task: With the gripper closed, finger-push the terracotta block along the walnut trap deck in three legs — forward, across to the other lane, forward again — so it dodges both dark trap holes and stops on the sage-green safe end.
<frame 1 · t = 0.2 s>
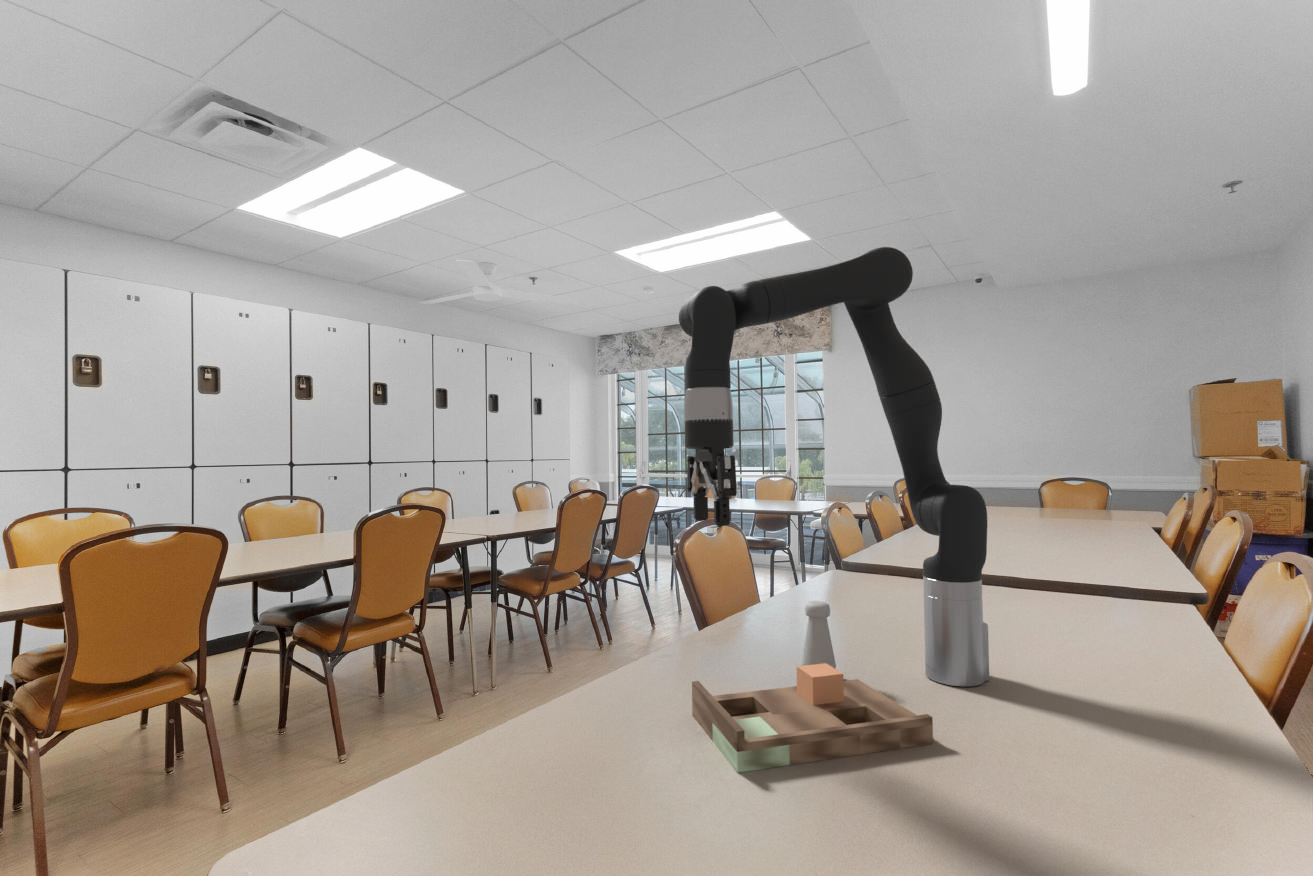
hand: (711, 522, 99), 28 cm above the table, fingers open, 8 cm apart
terracotta block: (820, 697, 96), point 2 cm above the table, touching trap deck
trap deck: (805, 728, 90), on the table
salt shaker: (818, 678, 111), on the table
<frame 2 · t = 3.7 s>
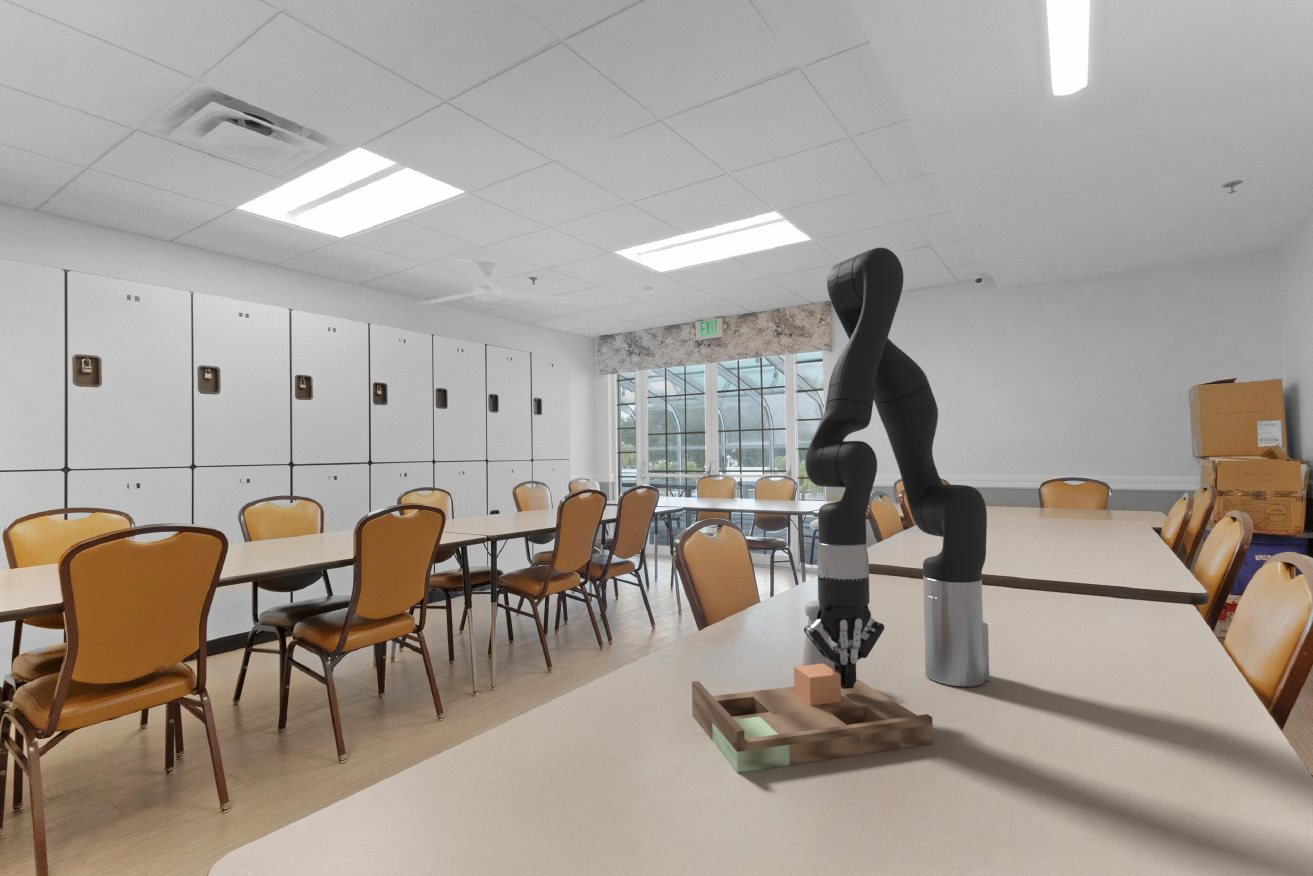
hand: (845, 686, 97), 4 cm above the table, fingers closed
terracotta block: (817, 697, 95), point 3 cm above the table, touching gripper
everything else where it was.
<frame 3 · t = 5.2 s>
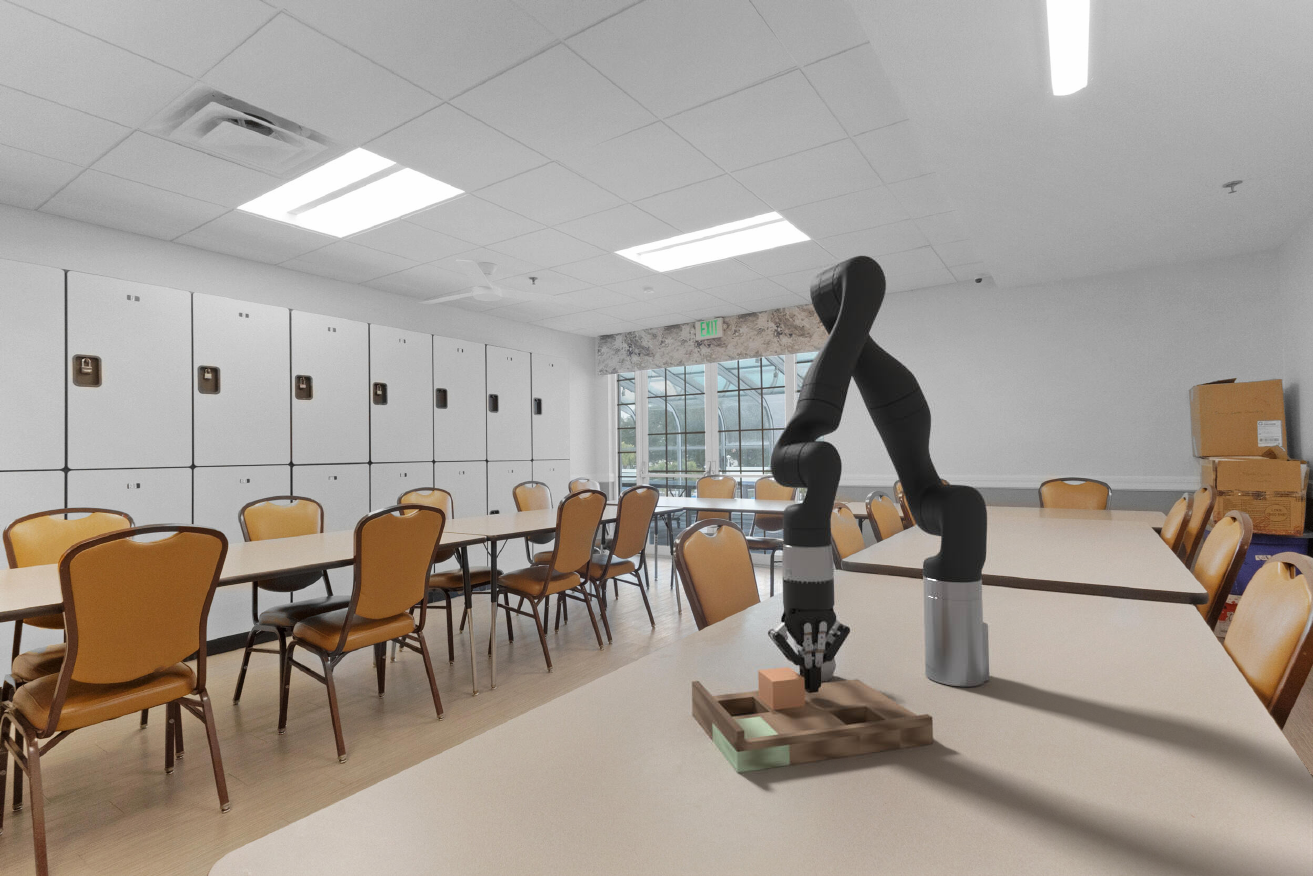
hand: (810, 690, 95), 4 cm above the table, fingers closed
terracotta block: (781, 701, 94), point 2 cm above the table, touching gripper, trap deck
everything else where it was.
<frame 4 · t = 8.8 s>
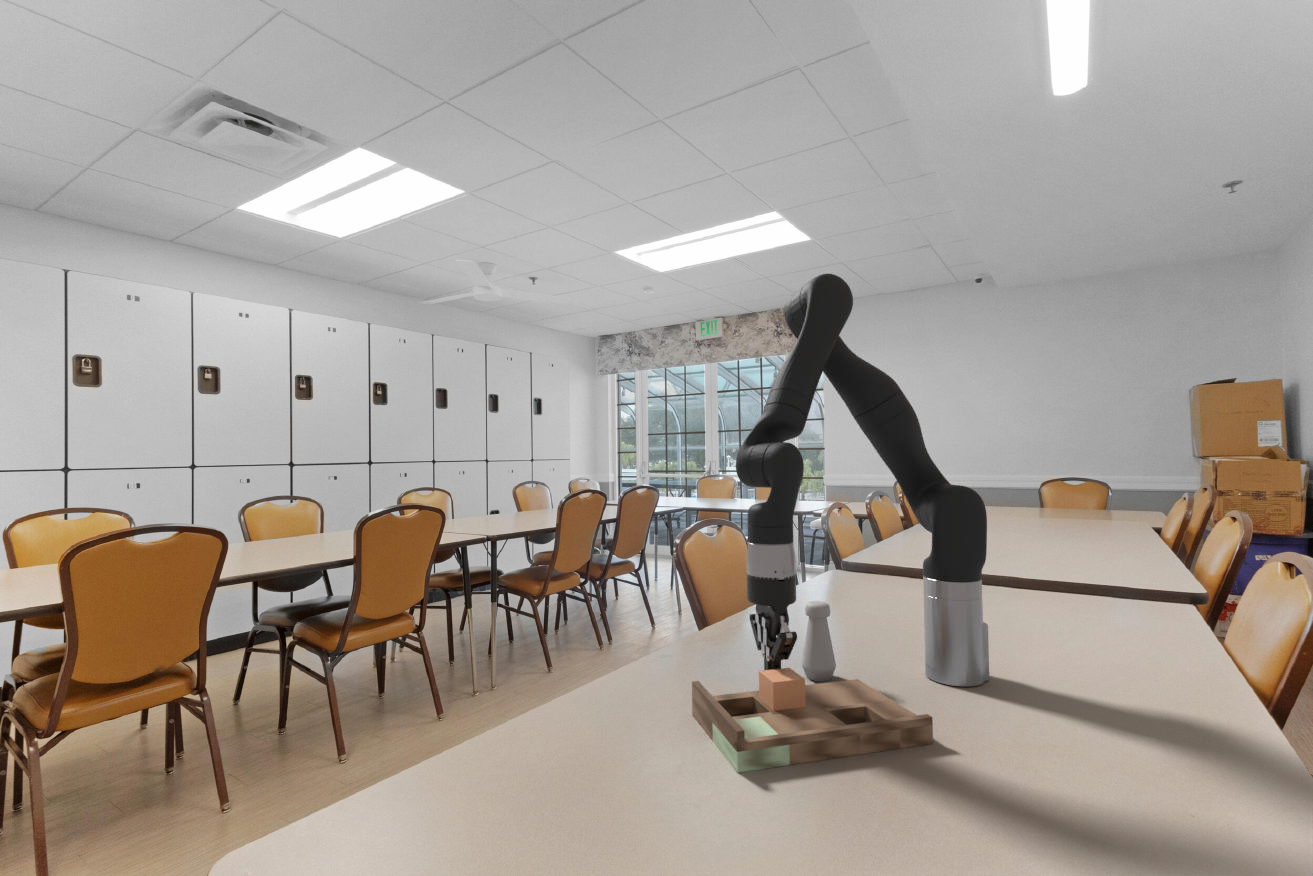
hand: (772, 683, 99), 4 cm above the table, fingers closed
nothing on the table moved.
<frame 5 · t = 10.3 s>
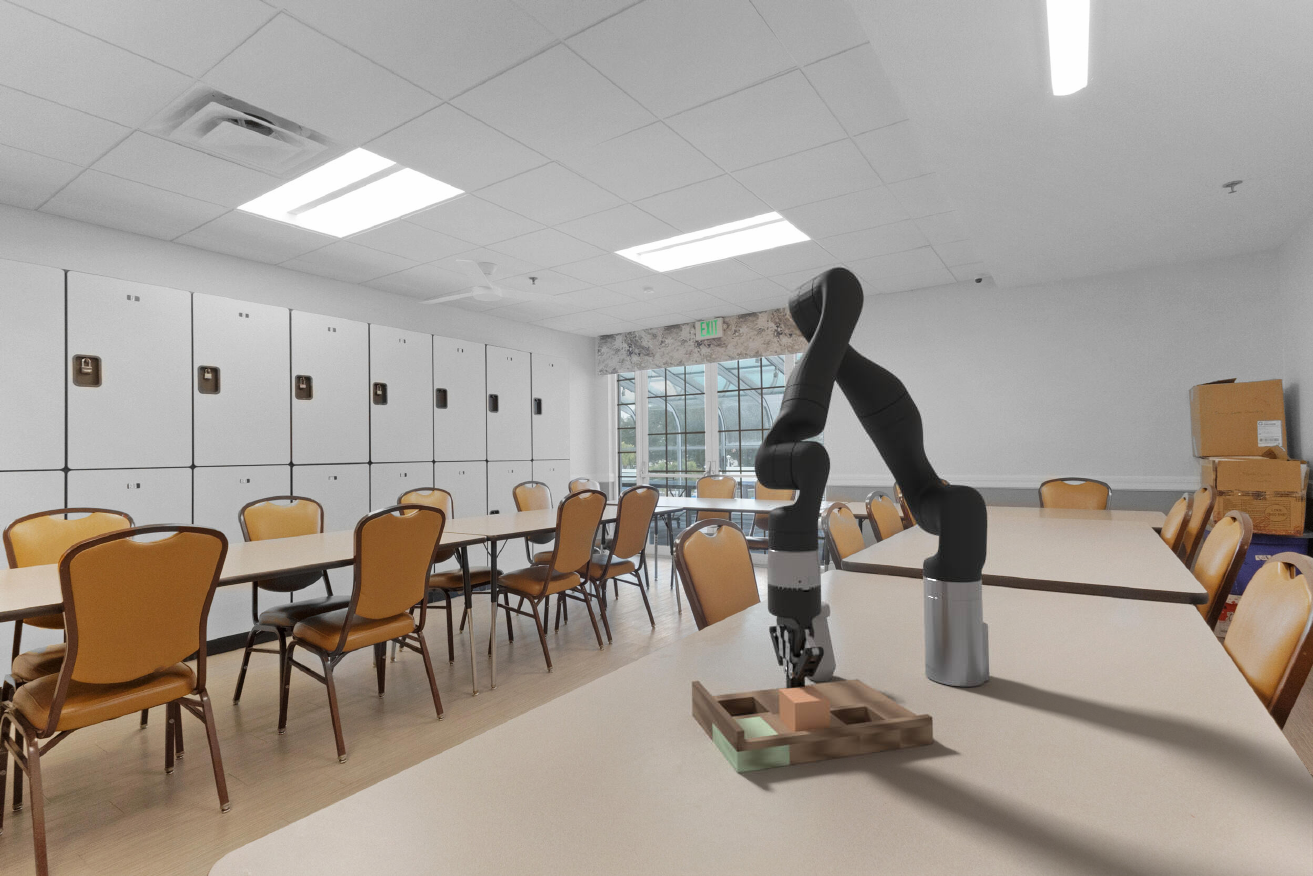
hand: (795, 702, 91), 4 cm above the table, fingers closed
terracotta block: (804, 724, 86), point 3 cm above the table, touching gripper
everything else where it was.
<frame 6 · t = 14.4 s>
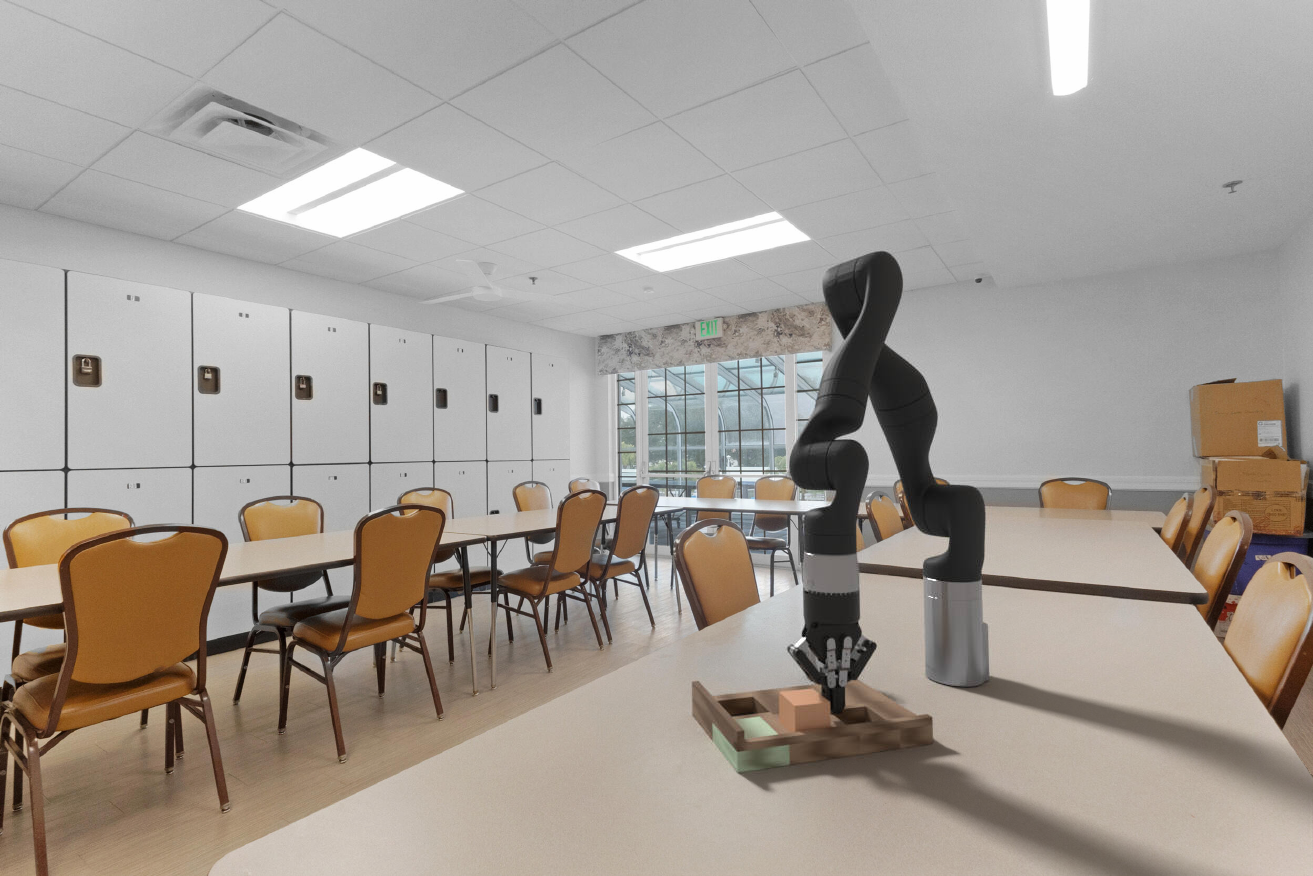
hand: (833, 712, 87), 4 cm above the table, fingers closed
terracotta block: (804, 727, 85), point 3 cm above the table, touching gripper, trap deck
everything else where it was.
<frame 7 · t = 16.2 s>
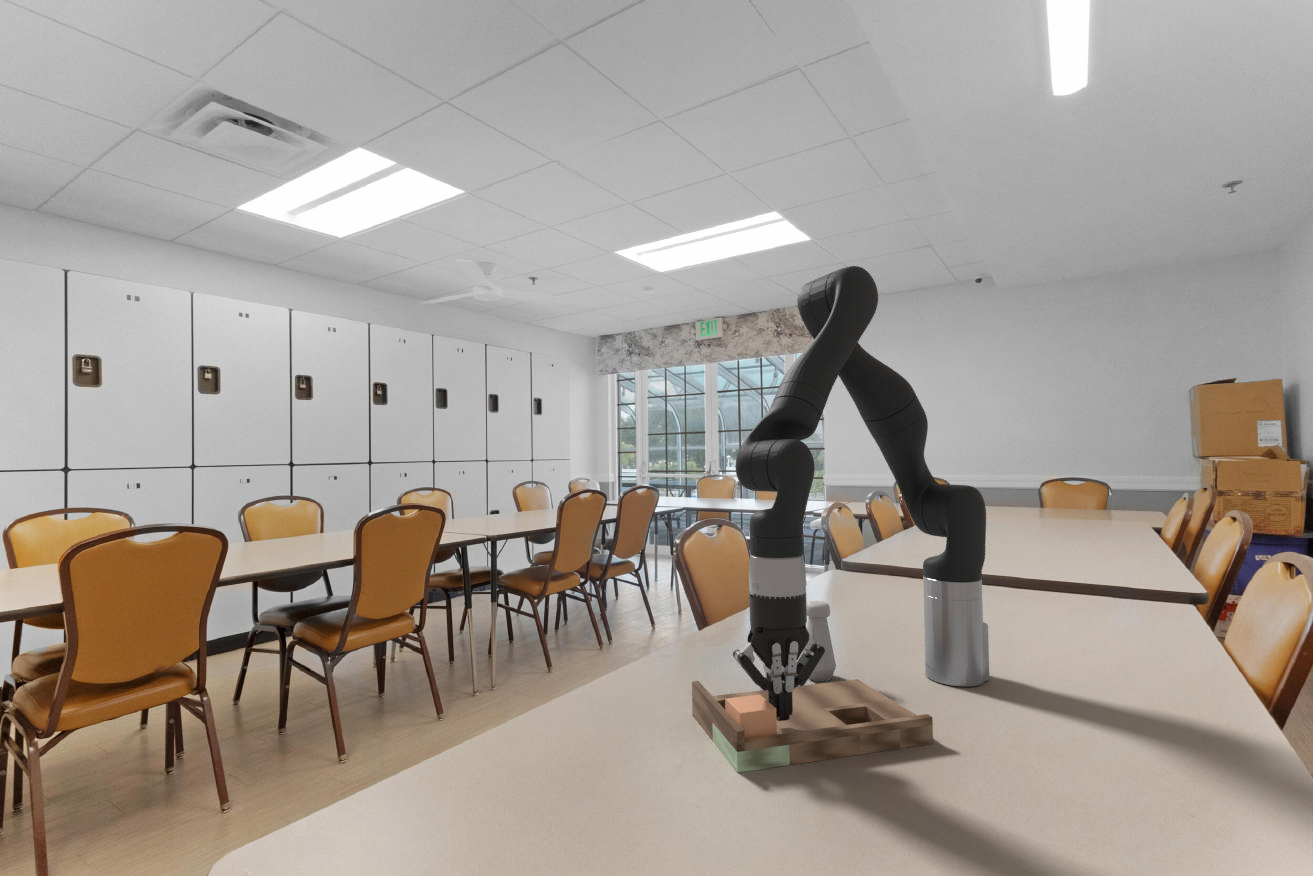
hand: (780, 718, 85), 4 cm above the table, fingers closed
terracotta block: (750, 734, 83), point 2 cm above the table, touching gripper, trap deck
everything else where it was.
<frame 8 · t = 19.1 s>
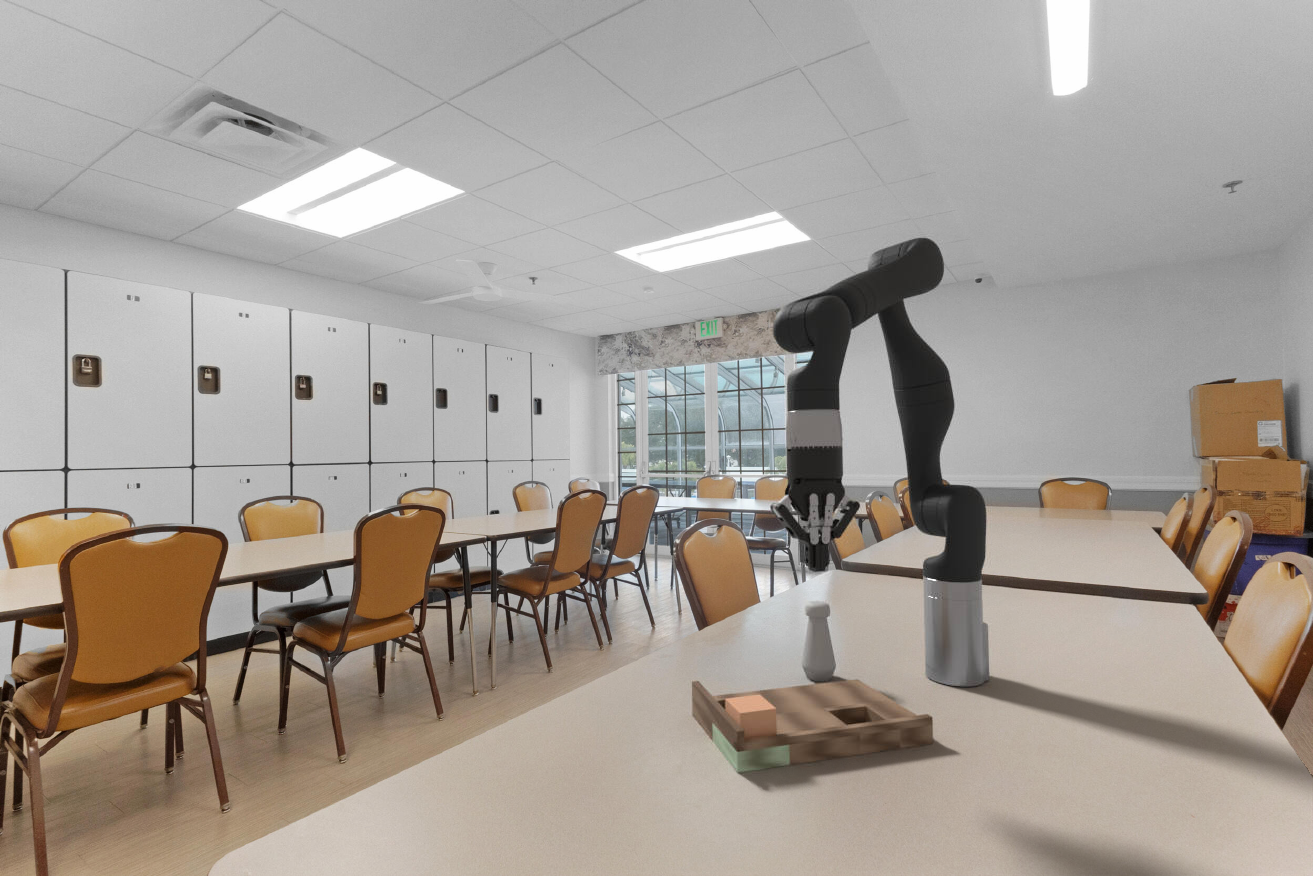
hand: (816, 570, 87), 23 cm above the table, fingers closed
terracotta block: (750, 734, 83), point 2 cm above the table, touching trap deck
everything else where it was.
at the end: terracotta block inside the target area on the trap deck (1.3 cm from its centre), point 2.5 cm above the trap deck's base; terracotta block tilted 0° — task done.
